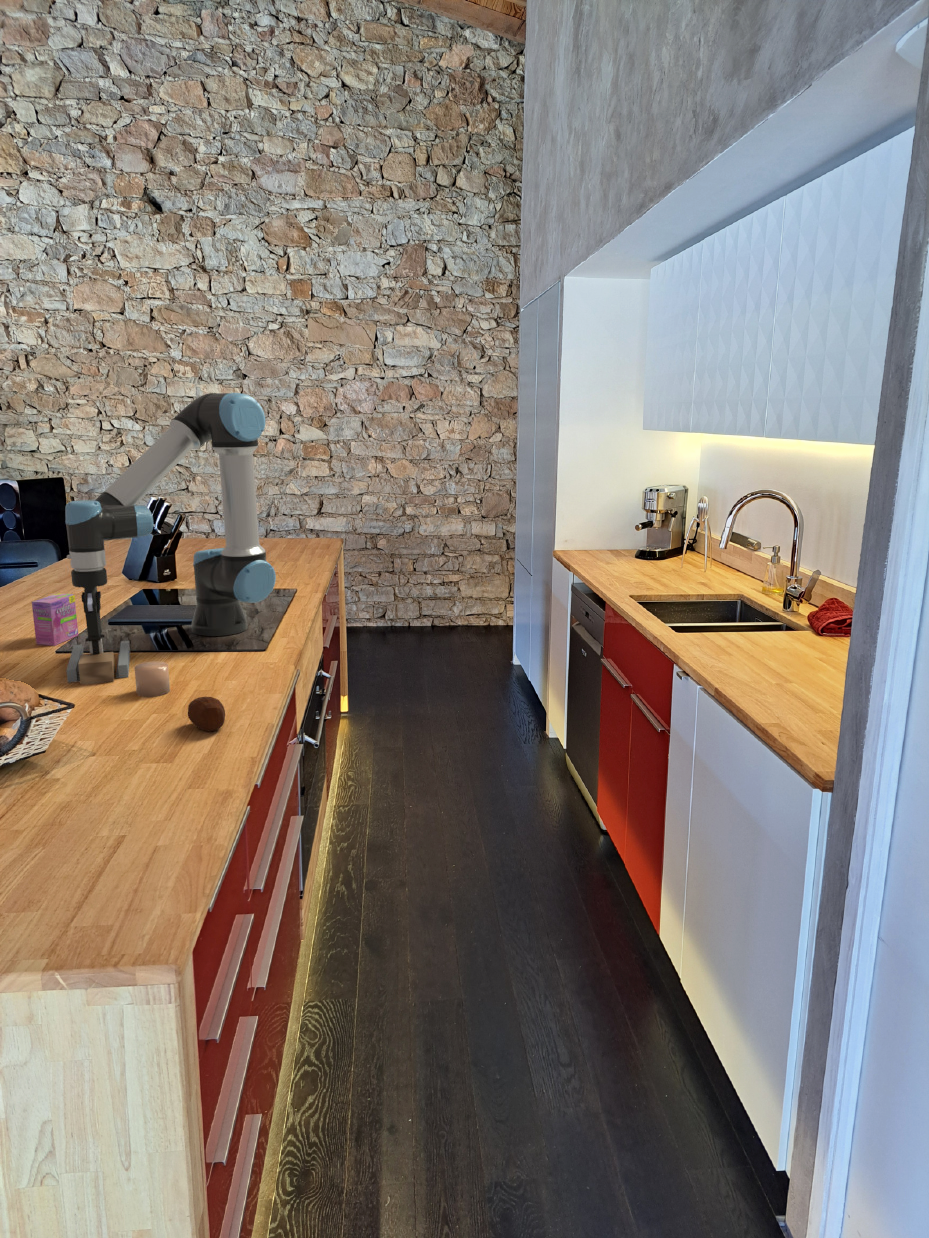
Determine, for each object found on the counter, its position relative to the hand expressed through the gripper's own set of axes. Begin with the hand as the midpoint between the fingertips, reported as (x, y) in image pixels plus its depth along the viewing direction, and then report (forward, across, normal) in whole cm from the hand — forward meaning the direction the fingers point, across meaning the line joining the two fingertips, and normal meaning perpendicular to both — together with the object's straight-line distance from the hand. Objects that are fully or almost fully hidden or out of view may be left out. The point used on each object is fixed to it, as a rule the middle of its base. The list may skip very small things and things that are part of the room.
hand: (97, 666), depth 207 cm
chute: (+2, -5, 0) cm, 5 cm away
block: (+2, +5, 0) cm, 5 cm away
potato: (+2, +45, +23) cm, 50 cm away
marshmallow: (+2, +19, +12) cm, 23 cm away
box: (+2, -34, -12) cm, 36 cm away
